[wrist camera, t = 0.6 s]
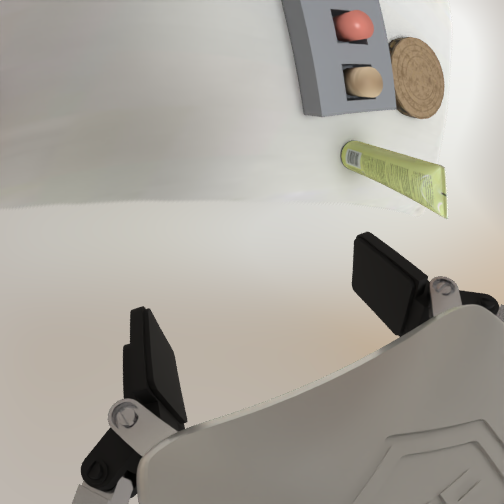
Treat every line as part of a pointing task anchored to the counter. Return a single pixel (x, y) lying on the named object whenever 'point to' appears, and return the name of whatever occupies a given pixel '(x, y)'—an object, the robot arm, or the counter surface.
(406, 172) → the tube
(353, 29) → the knob red
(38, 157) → the counter surface
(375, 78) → the knob
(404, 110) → the wood log slice
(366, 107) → the knob panel
